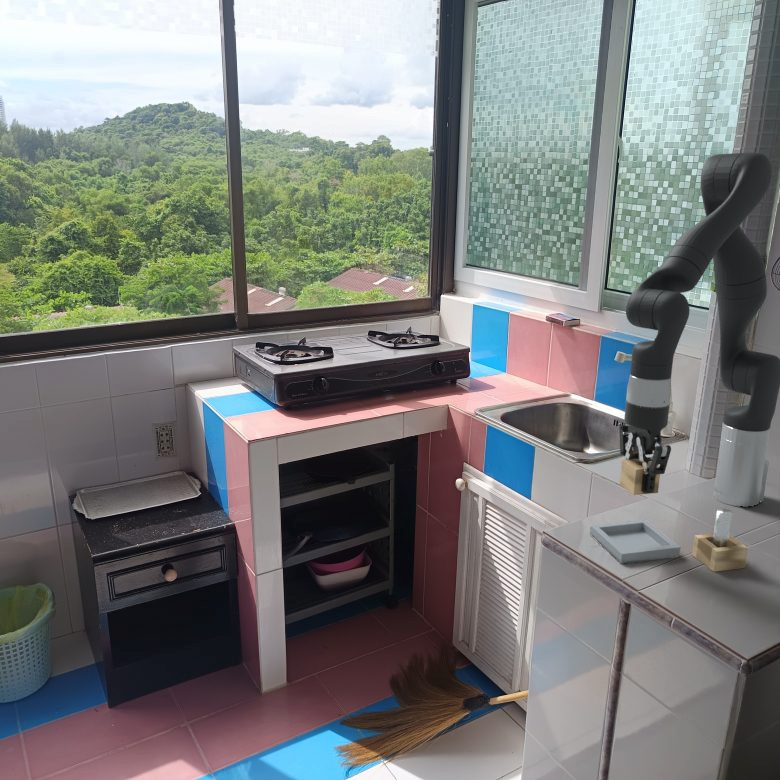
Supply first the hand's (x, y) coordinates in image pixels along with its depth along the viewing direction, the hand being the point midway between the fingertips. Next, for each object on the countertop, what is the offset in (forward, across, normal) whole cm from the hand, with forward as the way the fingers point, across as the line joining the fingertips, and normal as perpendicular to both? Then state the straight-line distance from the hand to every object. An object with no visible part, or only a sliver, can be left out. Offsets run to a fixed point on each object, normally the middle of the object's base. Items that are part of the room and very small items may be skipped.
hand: (639, 486), depth 139 cm
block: (0, 0, 0) cm, 0 cm away
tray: (+12, 0, 0) cm, 12 cm away
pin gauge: (+12, -9, -12) cm, 19 cm away
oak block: (+12, -9, -12) cm, 19 cm away
